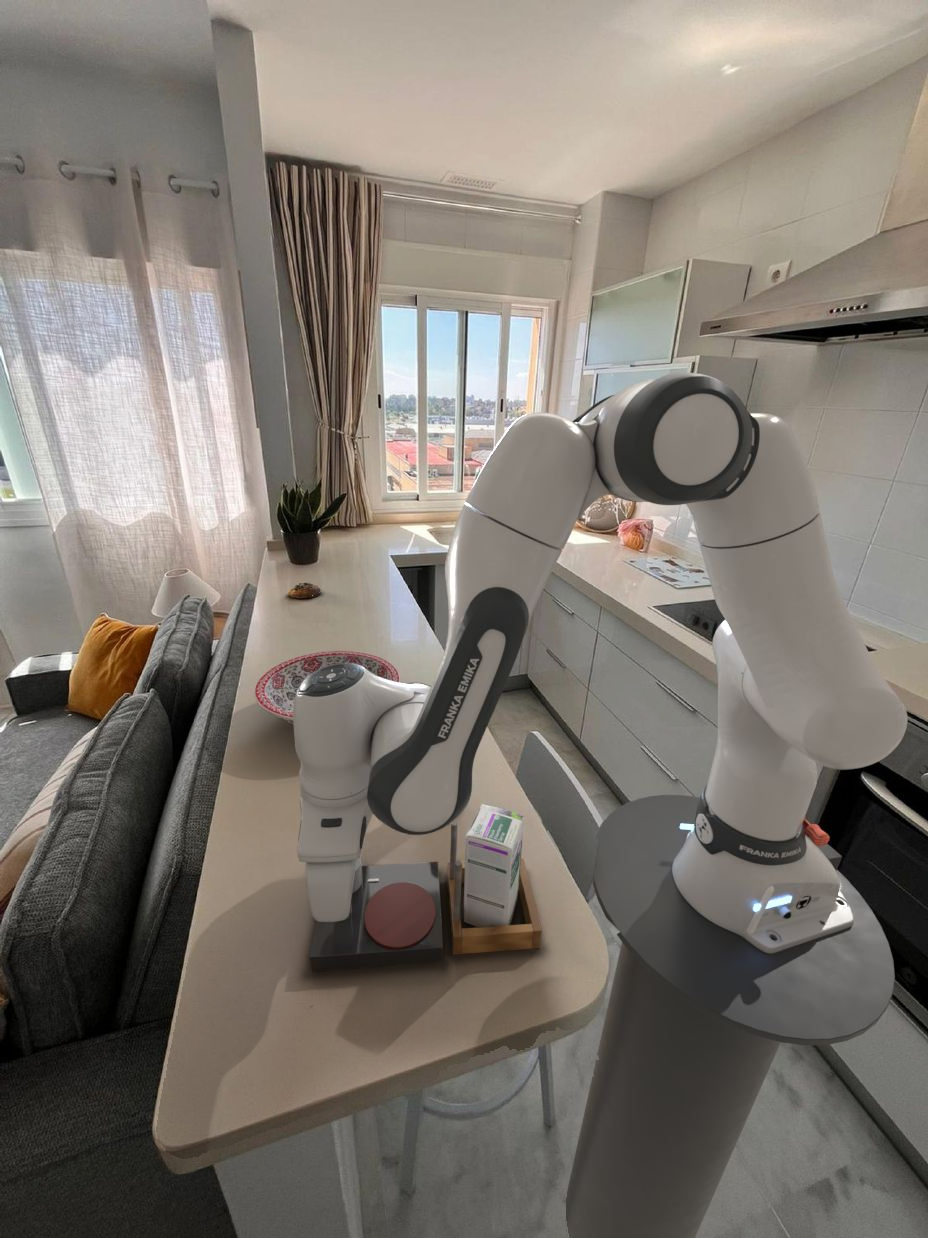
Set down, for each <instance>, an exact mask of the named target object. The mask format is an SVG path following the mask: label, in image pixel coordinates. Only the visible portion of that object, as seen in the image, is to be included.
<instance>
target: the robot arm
mask: <svg viewBox="0 0 928 1238" xmlns="http://www.w3.org/2000/svg"><path fill="white" fill-rule="evenodd" d="M608 495H609V496H610V495H611V496H613V497H615V498H618V499H620V500H624V501H627V502H633V503H650V504H654V505H659V506H680V505H686V507H687V508H688V511H689V513H690V514H691V515H692V521H693V525H694V530H695V533H696V537H697V541H698V545H699V548H700V552H701V555H702V558H703V559H702V560H703V562H704V567H705V570H706V573H707V577H708V579H709V580H708V581H709V583H710V587H711V590H712V594H713V598H714V601H715V603H716V605H717V608H718V610H719V612H720V614H721V615H722V617H723V618H724V620H723V621H722V622H721V623H720V624H719V625H718V626H717V628H716V630H715V633H714V635H713V637H712V644H711V645H712V646H711V647H712V651H713V655H714V656H713V657H714V660H715V665H716V669H717V671H716V672H717V736H716V737H717V738H716V746H715V747H716V748H715V752H714V756H713V759H712V764H711V768H710V773H709V777H708V781H707V784H706V785H705V786H703V789H702V791H701V793H700V797H699V798H700V799H699V802H698V806H697V810H696V817H695V823H694V825H693V824H681V825H680V829H688V830H691V832H689V833H688V835H687V838H686V841H685V844H684V845H683V847H682V849H681V850H680V852H679V853H678V855H677V856H676V857H675V859H674V862H673V865H672V873H673V878H674V881H675V884H676V886H677V888H678V890H679V891H680V893H681V894H682V896H683V897H684V898H685V900H686V901H687V902H688V903H689V904H690V905H691V906H692V907H693V908H694V909H695V910H696V911H697V912H699V913H700V914H701V915H702V916H704V917H705V918H707V919H708V920H710V921H711V922H713V923H715V924H716V925H718V926H720V927H722V928H724V929H727V930H729V931H731V932H734V933H736V934H738V935H740V936H742V937H743V938H745V939H746V940H747V941H749V942H750V943H751V944H753V945H754V946H755V947H757V948H758V949H760V950H762V951H763V952H766V953H769V954H772V953H776V952H779V951H782V950H785V949H788V948H791V947H794V946H796V945H799V944H802V943H805V942H808V941H811V940H814V939H817V938H820V937H823V936H826V935H829V934H832V933H835V932H838V931H841V930H844V929H846V928H849V927H851V926H853V923H854V916H853V912H852V910H851V907H850V905H849V903H848V902H847V900H846V898H845V897H844V895H843V894H842V893H841V891H840V890H839V889H840V882H839V877H838V875H837V872H836V870H838V868H839V866H840V863H841V861H842V858H843V856H842V855H841V854H840V853H839V852H837V851H836V849H834V848H833V847H832V846H831V845H829V844H828V843H829V841H830V838H831V837H830V835H829V834H828V833H827V832H826V831H824V830H822V829H821V827H820V826H819V825H818V824H816V823H810V822H809V821H808V820H807V819H806V818H807V817H806V815H807V812H808V809H809V807H810V804H811V802H812V799H813V797H814V794H815V791H816V789H817V784H818V767H817V764H819V765H820V766H823V767H825V768H828V769H834V770H842V771H847V770H855V769H861V768H865V767H868V766H871V765H874V764H876V763H878V762H880V761H882V760H883V759H885V758H886V757H888V756H889V755H890V754H891V753H892V752H894V751H895V749H896V748H897V747H898V746H899V745H900V743H901V742H902V740H903V738H904V736H905V733H906V730H907V727H908V718H909V717H908V712H907V708H906V706H905V704H904V703H903V701H902V700H901V699H900V697H899V696H898V695H897V693H896V692H895V691H894V690H893V689H892V687H891V686H890V684H889V683H888V681H887V680H886V679H885V677H884V676H883V674H882V673H881V672H880V670H879V667H878V666H876V664H875V662H874V660H873V657H872V656H871V654H870V652H869V650H868V648H867V646H866V644H865V642H864V639H863V638H862V635H861V633H860V631H859V629H858V627H857V625H856V623H855V621H854V619H853V617H852V614H851V613H850V611H849V608H848V607H847V605H846V603H845V601H844V598H843V596H842V594H841V592H840V589H839V586H838V585H837V581H836V578H835V576H834V572H833V567H832V563H831V558H830V554H829V553H830V552H829V549H828V545H827V544H828V543H827V540H826V535H825V530H824V525H823V520H822V515H821V509H820V506H819V500H818V497H817V492H816V488H815V484H814V480H813V478H812V474H811V472H810V469H809V466H808V463H807V460H806V458H805V455H804V452H803V451H802V448H801V445H800V443H799V441H798V439H797V437H796V435H795V433H794V431H793V429H792V428H791V426H790V424H789V423H788V422H787V421H786V420H784V419H783V418H781V417H780V416H777V415H776V414H771V413H767V412H766V413H763V412H749V411H748V409H747V408H746V406H745V404H744V402H743V400H742V399H741V397H740V396H739V395H738V394H737V393H736V392H735V391H734V390H733V388H731V387H730V386H729V385H727V384H726V383H724V382H723V381H721V380H719V379H717V378H716V377H713V376H710V375H707V374H703V373H697V372H675V373H670V374H666V375H663V376H661V377H657V378H656V377H655V378H651V379H646V380H642V381H638V382H635V383H632V384H630V385H627V386H626V387H624V388H622V389H621V390H619V391H617V392H616V393H615V394H612V395H609V396H607V397H605V398H603V399H600V400H599V401H598V402H596V403H595V404H593V405H592V406H590V407H589V408H588V409H586V411H584V412H583V413H581V414H580V415H579V416H577V417H575V418H574V419H573V420H571V419H569V418H568V417H565V416H562V415H560V414H557V413H553V412H543V411H539V412H537V411H536V412H530V413H527V414H524V415H521V416H520V417H518V418H517V419H516V420H514V421H513V422H512V423H511V425H509V427H508V428H507V430H505V432H504V434H503V436H501V438H500V440H499V441H498V442H497V444H496V446H495V447H494V448H493V451H492V452H491V453H490V455H489V456H488V458H487V459H486V462H485V463H484V465H483V466H482V468H481V470H480V472H479V473H478V476H477V478H476V479H475V481H474V483H473V485H472V487H471V489H470V491H469V493H468V495H467V498H466V499H465V502H464V503H463V506H462V507H461V508H462V509H461V510H460V513H459V514H458V517H457V519H456V522H455V525H454V528H453V530H452V535H451V538H450V542H449V545H448V549H447V553H446V557H445V562H444V577H445V585H446V586H445V587H446V595H447V605H448V624H447V625H448V627H447V636H446V637H447V638H446V643H445V648H444V652H443V655H442V658H441V661H440V664H439V666H438V669H437V671H436V674H435V676H434V678H433V681H432V683H431V685H429V684H428V683H424V682H423V683H422V682H401V681H400V682H395V681H391V680H388V679H384V678H381V677H379V676H376V675H374V674H372V673H371V672H369V671H368V670H367V669H366V668H364V667H363V666H361V665H358V664H354V663H336V664H332V665H328V666H325V667H322V668H320V669H318V670H317V671H315V672H313V673H312V674H310V675H309V676H308V677H306V678H305V680H304V681H303V682H302V683H301V684H300V686H299V688H298V690H297V692H296V695H295V700H294V712H293V722H294V726H293V737H294V748H295V752H296V755H297V757H298V760H299V761H300V768H299V773H298V784H299V793H300V800H299V804H300V814H301V819H300V825H299V833H298V841H297V858H298V861H299V862H300V863H305V865H304V867H305V868H304V871H305V872H304V873H305V874H304V875H305V884H306V891H307V896H308V900H309V905H310V910H311V915H312V918H313V919H314V920H315V922H316V921H319V922H336V921H342V920H345V919H347V918H348V916H349V913H350V907H351V898H352V890H353V883H354V876H355V869H356V862H357V859H358V858H359V857H360V856H361V854H362V849H363V846H364V840H365V836H366V833H367V829H368V827H369V824H370V822H371V819H372V818H373V817H372V816H373V815H374V816H375V817H376V819H378V820H379V821H380V822H381V823H383V824H384V825H385V826H387V827H388V828H390V829H392V830H394V831H396V832H399V833H401V834H404V835H405V834H406V835H411V836H422V835H423V836H424V835H429V834H432V833H435V832H437V831H440V830H442V829H444V828H445V827H446V826H448V825H451V823H452V822H453V821H455V820H456V819H457V818H458V817H459V816H460V815H461V813H463V811H464V810H465V809H466V808H467V806H468V804H469V802H470V799H471V796H472V791H473V768H474V761H475V758H476V755H477V751H478V749H479V746H480V744H481V742H482V739H483V737H484V735H485V732H486V730H487V728H488V725H489V723H490V721H491V719H492V716H493V714H494V711H495V710H496V707H497V705H498V702H499V701H500V698H501V695H502V694H503V691H504V689H505V686H506V684H507V682H508V679H509V677H510V675H511V672H512V670H513V668H514V665H515V662H516V660H517V658H518V655H519V652H520V649H521V647H522V643H523V640H524V638H525V635H526V633H527V629H528V627H529V625H530V622H531V618H532V616H533V614H534V611H535V609H536V606H537V604H538V601H539V599H540V597H541V595H542V592H543V591H544V588H545V587H546V584H547V583H548V580H549V578H550V576H551V574H552V571H554V568H555V566H556V564H557V562H558V560H559V559H560V557H561V555H562V552H563V550H564V549H565V547H566V545H567V543H568V541H569V540H570V539H569V538H570V536H571V534H572V532H573V530H574V528H575V526H576V523H577V521H578V520H580V518H581V517H582V516H583V515H584V513H585V512H586V511H587V510H588V509H589V507H591V506H592V505H593V504H594V503H596V501H598V500H599V499H601V498H603V497H605V496H608ZM771 938H772V939H774V940H775V941H774V940H772V939H771Z"/></svg>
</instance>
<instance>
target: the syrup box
mask: <svg viewBox="0 0 928 1238" xmlns="http://www.w3.org/2000/svg"><path fill="white" fill-rule="evenodd" d="M524 823H525V817H524V815H521V814H520V813H516V812H513V811H510V810H507V809H504V808H501V807H496V806H492V805H487V804H483V803H482V804H480V807H479V808H478V811H477V813H476V815H475V816H474V818H473V820H472V822H471V824H470V826H469V829H468V831H467V833H466V835H465V848H464V849H465V850H464V862H465V880H464V884H463V885H464V886H463V887H464V888H463V895H464V896H463V922H464V923H465V924H468V925H470V926H473V927H475V928H480V927H494V926H508V925H511V923H512V921H513V920H512V919H513V917H514V913H515V910H516V907H517V904H518V900H519V891H518V889H519V877H520V864H521V859H522V853H523V852H522V848H523V836H524Z"/></svg>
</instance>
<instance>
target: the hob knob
mask: <svg viewBox="0 0 928 1238" xmlns="http://www.w3.org/2000/svg"><path fill="white" fill-rule="evenodd" d="M362 862H363V861H362V857H361V855H360V857H359V858H358V859H357V862H356V869H355V876H354V883H353V890H352V893H354V892H356V891H357V890H358V889H359V888H360V886H361V884H362V866H363V865H362Z"/></svg>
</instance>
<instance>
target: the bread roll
mask: <svg viewBox="0 0 928 1238" xmlns="http://www.w3.org/2000/svg"><path fill="white" fill-rule="evenodd" d="M289 589H290V590H288V592H287V594H288V596H289V597H291V598H293V599H311V598H316V597H319V596H320V595H321V592H322V590H321V588H320V587H319V586H318V585H315V584H313V583H311V582H299V583H297V584H295V585H294V586H292V587H291V588H289ZM320 591H321V592H320ZM319 592H320V593H319ZM312 595H313V596H312Z"/></svg>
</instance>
